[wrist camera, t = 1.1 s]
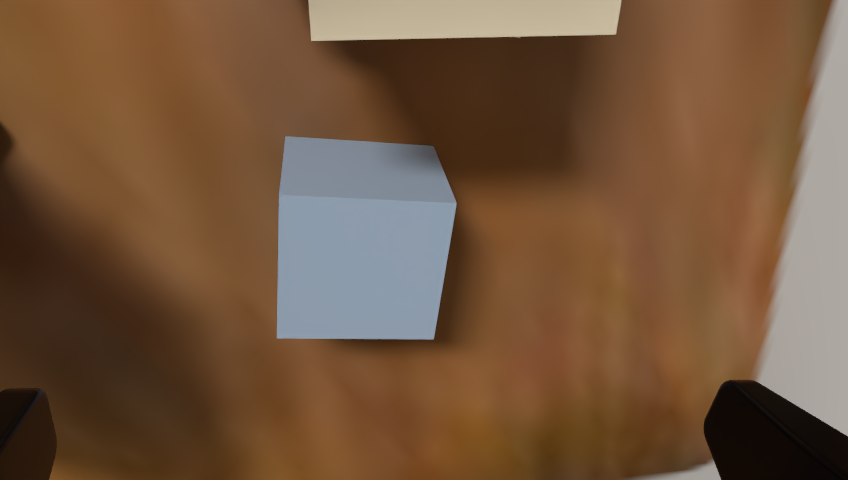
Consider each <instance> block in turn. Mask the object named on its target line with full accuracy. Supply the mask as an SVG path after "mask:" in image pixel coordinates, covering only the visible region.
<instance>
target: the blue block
mask: <svg viewBox="0 0 848 480" xmlns="http://www.w3.org/2000/svg"><path fill="white" fill-rule="evenodd" d="M456 205H457V203H456V200H455V198H454V195H453V193H452V190H451V188H450V185H449V183H448V180H447V178H446V176H445V173H444V171H443V168H442V166H441V163H440V161H439V158H438V156H437V153H436V151H435V148H434V146H427V145H411V144H396V143H380V142H365V141H350V140H334V139H319V138H303V137H288V136H285V145H284V155H283V164H282V173H281V182H280V191H279V234H278V301H277V338H298V339H434V335H435V329H436V324H437V318H438V312H439V306H440V300H441V294H442V288H443V282H444V276H445V270H446V264H447V258H448V252H449V247H450V241H451V235H452V229H453V223H454V217H455V211H456Z"/></svg>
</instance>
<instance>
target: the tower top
mask: <svg viewBox="0 0 848 480" xmlns="http://www.w3.org/2000/svg"><path fill="white" fill-rule="evenodd" d="M308 2H309V15H310V28H311V41H331V40H379V39H427V38H474V37H522V36H570V35H616V31H617V25H618V19H619V12H620V6H621V0H308Z"/></svg>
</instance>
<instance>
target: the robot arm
mask: <svg viewBox="0 0 848 480" xmlns="http://www.w3.org/2000/svg"><path fill="white" fill-rule="evenodd" d="M704 435H705V438H706V441H707V444H708V446H709V449H710V452H711V454H712V457H713V459H714V462H715V464H716V467H717V469H718V472H719V475H720V477H721V480H848V436H846V435H844V434H843V433H841V432H839V431H838V430H836V429H834V428H833V427H831V426H829V425H828V424H826V423H824V422H822V421H821V420H820V419H818V418H816V417H815V416H813V415H811V414H809V413H808V412H806V411H805V410H803V409H801V408H799V407H798V406H796V405H794V404H793V403H791V402H789V401H788V400H786V399H784V398H783V397H781V396H780V395H778V394H776V393H774V392H773V391H771V390H769V389H768V388H766V387H765V386H763V385H761V384H760V383H758V382H756V381H752V380H729V381H726V382H724V383H723V384H722V385H721V387H720V388H719V390H718V392H717V394H716V397H715V399H714V401H713V403H712V405H711V407H710V409H709V411H708V414H707V416H706V418H705V421H704ZM56 446H57V440H56V433H55V429H54V424H53V420H52V416H51V411H50V407H49V402H48V398H47V395H46V394H45V392H44V391H43V390H41V389H38V388H19V389H6V390H3V391H1V392H0V480H49V478H50V474H51V470H52V466H53V463H54V459H55V454H56Z"/></svg>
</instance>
